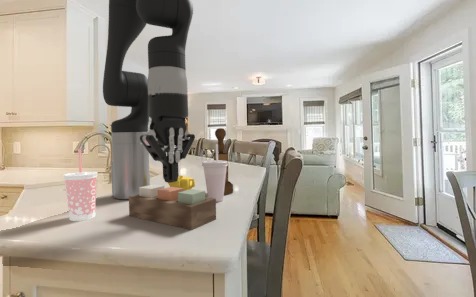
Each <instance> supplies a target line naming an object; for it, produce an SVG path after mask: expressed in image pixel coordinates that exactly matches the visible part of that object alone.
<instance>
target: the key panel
mask: <svg viewBox="0 0 476 297" xmlns="http://www.w3.org/2000/svg"><path fill="white" fill-rule="evenodd" d="M216 203H217V202H216V199H214V198H208V196H205V201H202V202H199V203H196V204H186V203H180V202H178V199H176V200H172V201H168V200H161V199H158V196H156V197H152V198H149V197H143V196H139V194H137V195H133V196H129V199H128V212H129V217H134V218H137V219H143V220H147V221H152V222H155V223H161V224H165V225H170V226H172V227H173V226H174V227H178V228H183V229H187V230H194V229H197V228H199V227H201V226H204V225H206V224H208V223H210V222H212V221H214V220H217V204H216Z"/></svg>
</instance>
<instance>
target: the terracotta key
mask: <svg viewBox="0 0 476 297" xmlns="http://www.w3.org/2000/svg"><path fill="white" fill-rule="evenodd" d="M157 191H158V199H161V200H168V201H172V200H176V199H178V192H182V191H184V188H177V187H170V186H168V187H164V188H163V189H159V190H157Z"/></svg>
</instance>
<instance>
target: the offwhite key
mask: <svg viewBox="0 0 476 297" xmlns="http://www.w3.org/2000/svg"><path fill="white" fill-rule="evenodd" d="M163 188H165V185H159V184H150V185H148V186H143V187H139V196H143V197H149V198H152V197H156V196H158V191H157V190H159V189H163Z"/></svg>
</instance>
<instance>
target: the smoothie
mask: <svg viewBox="0 0 476 297" xmlns="http://www.w3.org/2000/svg"><path fill="white" fill-rule="evenodd" d="M215 153H216V160H214V159H213V160H204V161H202V162H201V163H202V164H201V167H203V173H204V179H205V180H204V182H205V187H206V193H207V194H206V195H207V198H214V199H216V203H218V202H219V203H220V202H223V201H224V197H225V195H224V187H225V178H226V167H227V166H228V167H229V160H228V161H223V160H218V143H216V144H215Z"/></svg>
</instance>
